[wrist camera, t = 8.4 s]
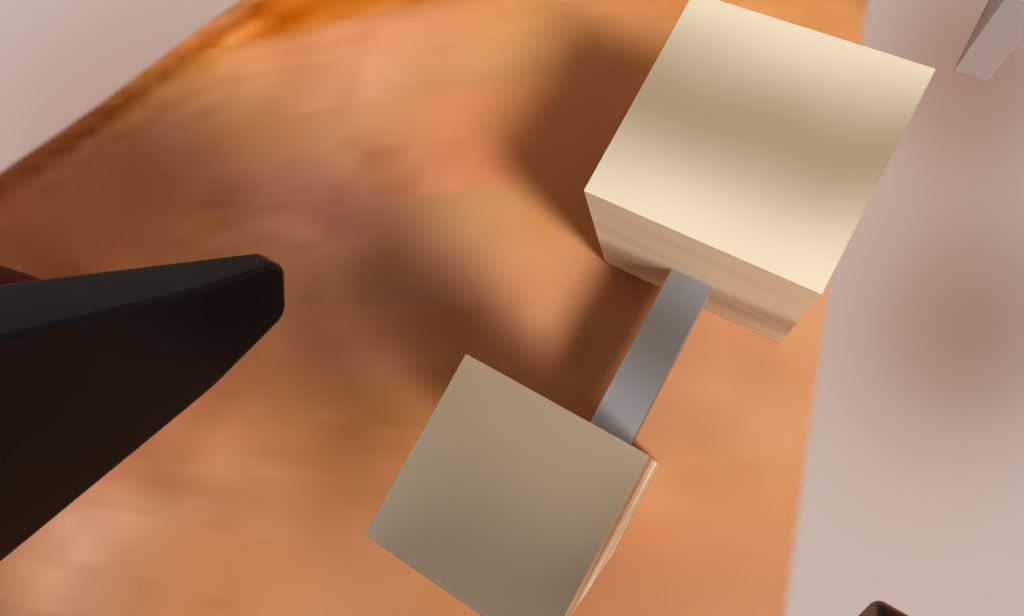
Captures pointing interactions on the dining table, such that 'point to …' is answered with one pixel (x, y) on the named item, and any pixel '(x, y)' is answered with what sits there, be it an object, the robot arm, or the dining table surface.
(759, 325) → the tethered block
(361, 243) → the dining table surface
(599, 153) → the dining table surface
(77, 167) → the dining table surface
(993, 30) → the stall
